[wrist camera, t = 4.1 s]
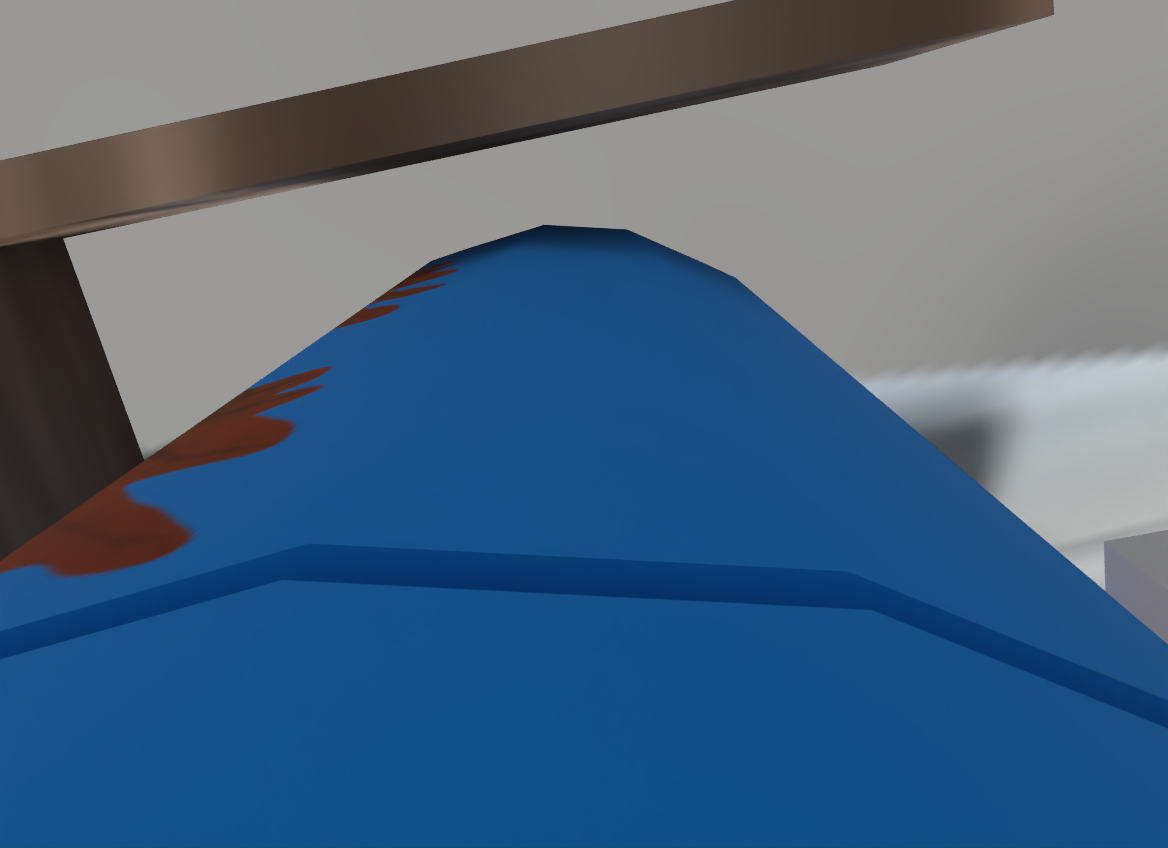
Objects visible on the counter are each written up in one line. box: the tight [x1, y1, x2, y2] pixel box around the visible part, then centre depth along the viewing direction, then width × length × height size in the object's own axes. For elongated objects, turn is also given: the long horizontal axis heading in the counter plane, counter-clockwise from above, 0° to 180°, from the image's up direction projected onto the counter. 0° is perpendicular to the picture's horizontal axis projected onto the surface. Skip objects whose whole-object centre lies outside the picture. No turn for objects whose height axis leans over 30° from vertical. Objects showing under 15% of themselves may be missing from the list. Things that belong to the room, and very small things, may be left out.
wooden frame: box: [0, 0, 1054, 561], centre depth 17 cm, size 19×16×8 cm
